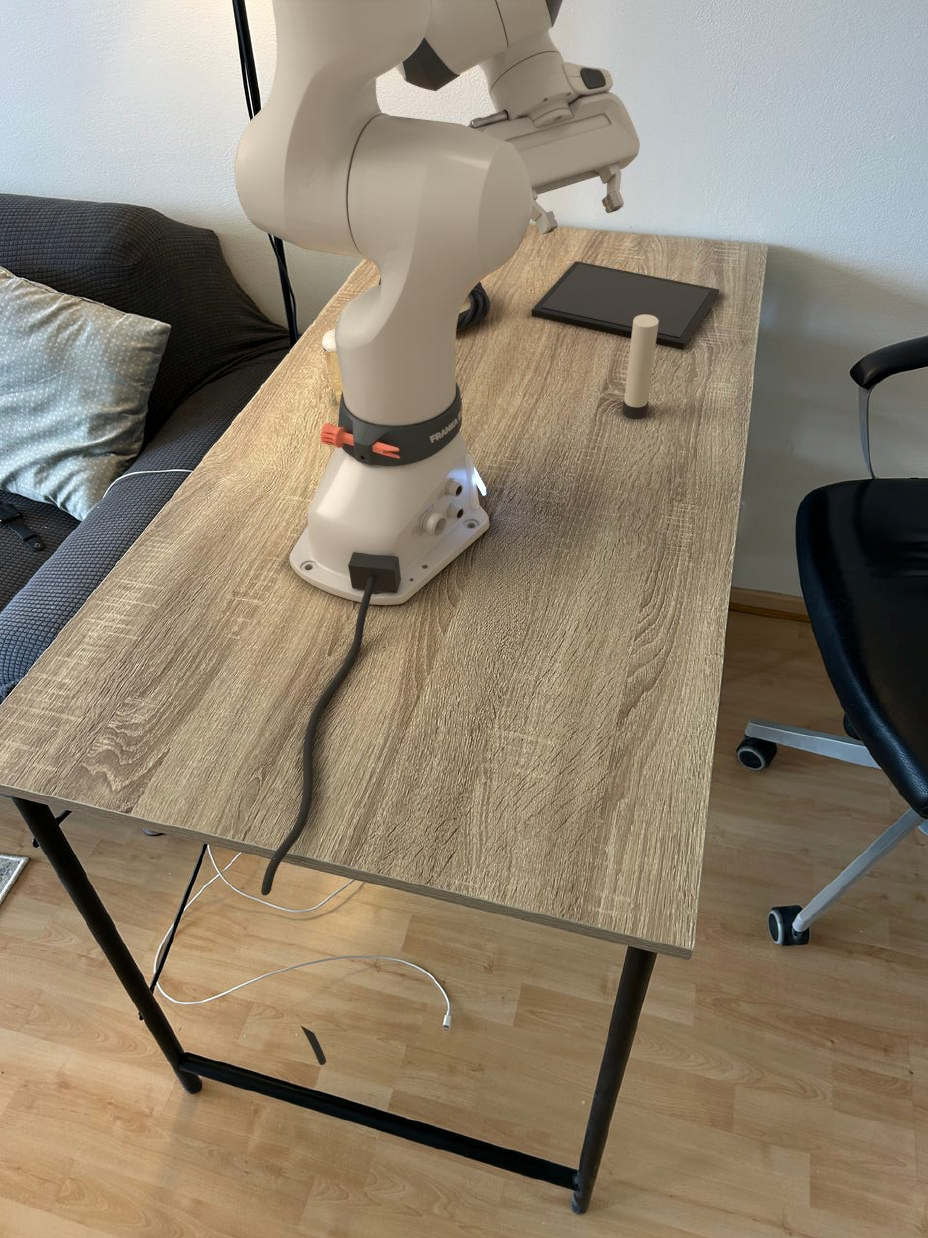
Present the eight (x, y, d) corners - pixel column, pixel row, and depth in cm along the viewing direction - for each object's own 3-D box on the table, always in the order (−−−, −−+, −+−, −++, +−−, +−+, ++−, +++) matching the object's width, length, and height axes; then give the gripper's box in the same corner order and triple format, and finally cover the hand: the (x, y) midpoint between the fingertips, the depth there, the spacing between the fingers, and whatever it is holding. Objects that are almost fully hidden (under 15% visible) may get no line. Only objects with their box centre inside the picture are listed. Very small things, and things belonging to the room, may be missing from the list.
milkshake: (371, 408, 111) (362, 335, 104) (329, 409, 111) (316, 335, 104) (375, 388, 114) (366, 315, 107) (333, 388, 114) (321, 316, 107)
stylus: (642, 421, 108) (654, 329, 99) (618, 415, 109) (628, 323, 100) (650, 408, 109) (663, 316, 101) (627, 402, 110) (637, 311, 102)
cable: (500, 299, 129) (500, 270, 126) (474, 349, 120) (473, 319, 117) (388, 286, 133) (385, 258, 129) (354, 334, 123) (350, 305, 120)
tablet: (683, 349, 118) (684, 342, 117) (531, 315, 125) (531, 308, 125) (718, 295, 128) (719, 288, 127) (575, 267, 135) (575, 259, 134)
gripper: (468, 106, 94) (519, 231, 96) (620, 67, 101) (666, 184, 103) (448, 139, 100) (496, 256, 102) (593, 99, 107) (637, 210, 109)
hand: (583, 220), depth 102 cm, fingers open, 8 cm apart
